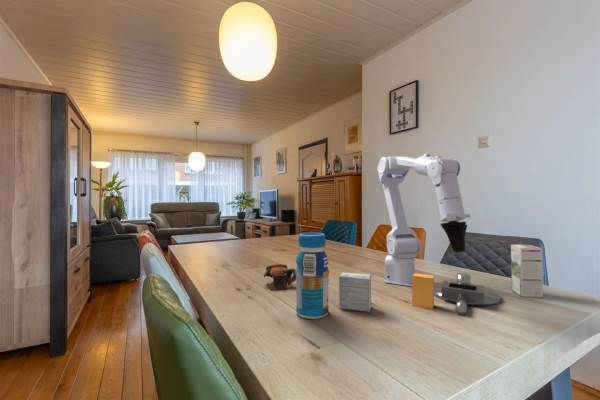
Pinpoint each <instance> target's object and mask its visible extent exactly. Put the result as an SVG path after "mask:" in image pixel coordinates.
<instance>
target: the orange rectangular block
mask: <svg viewBox="0 0 600 400" xmlns="http://www.w3.org/2000/svg"><path fill="white" fill-rule="evenodd" d="M434 284H435V276H434V275H431V274H424V273H416V272H415V273H414V274H413V275H412V286H411V294H412V295H411V298H412V299H411V301H412V302H411V305H412V306H415V307H420V308H425V309H430V310H431V309H432V310H433V308H434V306H435V296H434Z"/></svg>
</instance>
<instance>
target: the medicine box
mask: <svg viewBox="0 0 600 400" xmlns="http://www.w3.org/2000/svg"><path fill="white" fill-rule="evenodd" d="M338 280H339V281H338V283H339V284H338V286H339V287H338V289H339V290H338V297H339V298H338V300H339V301H338V303H339V305H338V307H339V310H350V311H360V312H365V313H369V312H371V309H372V276H371V274H369V273H367V274H366V273H356V272H342V273H341V274H340V275H339V277H338Z"/></svg>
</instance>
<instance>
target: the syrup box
mask: <svg viewBox="0 0 600 400" xmlns="http://www.w3.org/2000/svg"><path fill="white" fill-rule="evenodd" d="M510 257H511V261H510V263H511V264H510V265H511V266H510V267H511V268H510V269H511V271H510V273H511V291H512V292H514V293H515V294H517V295H519V296H520V297H524V298H537V299H539V298H540V299H542V298H544V291H543V290H544V289H543V288H544V286H543V284H544V283H543V282H544V281H543V247H538V246H535V245H531V244H511V245H510Z"/></svg>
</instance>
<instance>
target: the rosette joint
mask: <svg viewBox="0 0 600 400" xmlns="http://www.w3.org/2000/svg"><path fill="white" fill-rule="evenodd" d="M434 297H436V298H438V299H439V300H440V299H441V300H443V301H445V302H450V303H453V304H455V308H454V310H455V311H454V312H456V314H457V315H459V316H465V315H466V314H467V310H468V309H467V308H468V306H471V307H490V306H496V305H499V304H500V303H501V296H500V294H499V293H497V291H494V290H492V289H489V288H487V287H485V286H484V285H479V284H478V285H477V284H471V274H469V273H463V272H457V273H456V282H454V281H446V280H443V282H438V283H434Z"/></svg>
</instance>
